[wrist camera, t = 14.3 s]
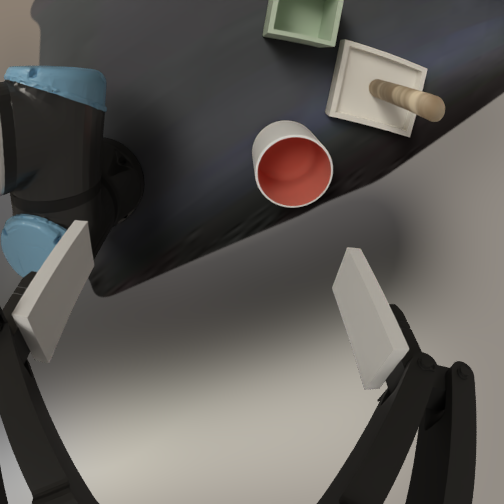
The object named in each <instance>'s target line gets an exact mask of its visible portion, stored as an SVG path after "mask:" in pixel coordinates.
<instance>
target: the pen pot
mask: <svg viewBox="0 0 504 504" xmlns="http://www.w3.org/2000/svg"><path fill="white" fill-rule="evenodd" d="M343 1H344V0H269V2H268V8H267V13H266V19H265V25H264V30H263V36H262V37H267V38H273V39H279V40H285V41H290V42H295V43H300V44H305V45H309V46H314V47H318V48H323V47H335V43H336V38H337V33H338V28H339V22H340V17H341V12H342V6H343Z"/></svg>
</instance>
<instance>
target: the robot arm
mask: <svg viewBox="0 0 504 504" xmlns="http://www.w3.org/2000/svg"><path fill="white" fill-rule="evenodd" d="M4 79H5V81H4V82H0V196H2V195H4V194H7V193H10V196H11V204H12V210H13V216H12V217H10V218H9V219H8V220H7V221H6V223H5V226H4V229H3V230H2V233H1V246H2V250H3V253H4V255H5V257H6V259H7V261H8V262H9V264H10V265H11V267H12V268H13V269H14V270H15V271H16V272H17V273H18V274H19V275H20V276H22V277H23V279H22V280H21V282H20V283H19V285H18V287H17V288H16V289H15V291H14V294H12V296H11V297H10V299H9V300H8V302H7V304H6V305H5V307H4V308H3V310H2V309H1V307H0V415H1V418H2V421H3V424H4V427H5V430H6V433H7V436H8V439H9V442H10V444H11V447H12V450H13V452H14V455H15V457H16V460H17V462H18V464H19V467H20V469H21V471H22V473H23V476H24V478H25V480H26V482H27V485H28V487H29V489H30V491H31V492H32V495H33V501H32V504H99V503H98V502H97V501H96V499H95V498H94V496H93V495H92V493H91V492H90V490H89V489H88V487H87V485H86V484H85V482H84V481H83V479H82V477H81V476H80V474H79V472H78V470H77V469H76V467H75V465H74V463H73V461H72V460H71V458H70V456H69V454H68V452H67V451H66V448H65V446H64V444H63V442H62V440H61V439H60V436H59V434H58V432H57V430H56V428H55V426H54V424H53V422H52V419H51V417H50V415H49V413H48V410H47V408H46V406H45V403H44V401H43V398H42V396H41V394H40V391H39V388H38V386H37V383H36V380H35V378H34V375H33V372H32V370H31V366H30V364H29V362H28V360H27V357H28V355H29V353H30V352H31V354H32V356H33V358H34V360H37V361H40V362H44V363H48V364H49V363H50V361H51V358H52V356H53V353H54V350H55V348H56V346H57V343H58V341H59V339H60V336H61V334H62V332H63V329H64V327H65V325H66V323H67V320H68V318H69V316H70V314H71V312H72V309H73V307H74V305H75V303H76V301H77V299H78V297H79V295H80V293H81V291H82V289H83V287H84V285H85V283H86V281H87V279H88V277H89V275H90V273H91V271H92V269H93V267H94V259H95V257H96V255H97V253H98V251H99V250H100V248H101V246H102V244H103V242H104V241H105V239H106V237H107V235H108V233H109V232H110V230H111V228H112V227H114V226H115V225H117V224H119V223H121V222H122V221H124V220H125V219H127V218H128V217H129V216H130V215H131V214H132V213H133V212H134V210H135V209H136V207H137V205H138V203H139V202H140V200H141V197H142V194H143V189H144V177H143V172H142V169H141V166H140V164H139V162H138V160H137V159H136V157H135V156H134V155H133V153H132V152H131V151H130V150H129V149H128V148H126V147H125V146H124V145H122V144H121V143H119V142H117V141H115V140H112V139H108V138H103V129H104V116H105V112H106V111H107V107H106V106H105V98H106V79H105V77H104V75H103V74H102V73H101V72H99V71H98V70H94V69H87V68H76V67H59V66H12V67H9V68H8V69H7V71H6V74H5V75H4ZM332 290H333V292H334V295H335V298H336V301H337V304H338V307H339V310H340V313H341V316H342V319H343V322H344V325H345V328H346V331H347V334H348V337H349V341H350V344H351V347H352V350H353V354H354V357H355V360H356V363H357V366H358V370H359V373H360V377H361V380H362V383H363V387H364V389H365V390H366V389H378V388H380V387H381V386H382V385H383V383H384V382H385V381H386V383H387V386H388V388H387V390H386V391H385V392H384V393H383V394H382V396H381V397H380V398H379V399H378V401H380V402H379V404H378V406H377V408H376V410H375V412H374V414H373V415H372V418H371V419H370V421H369V423H368V425H367V426H366V428H365V430H364V432H363V434H362V435H361V437H360V439H359V440H358V442H357V444H356V446H355V448H354V449H353V451H352V452H351V454H350V455H349V457H348V459H347V460H346V462H345V464H344V465H343V467H342V468H341V470H340V471H339V473H338V474H337V476H336V477H335V479H334V481H333V482H332V483H331V485H330V486H329V488H328V489H327V491H326V492H325V493H324V495H323V496H322V498H321V499H320V500H319V502H318V503H317V504H383V503H384V501H385V499H386V497H387V495H388V493H389V491H390V490H391V488H392V486H393V484H394V482H395V480H396V477H397V476H398V474H399V471H400V469H401V467H402V465H403V463H404V460H405V458H406V456H407V454H408V451H409V449H410V447H411V445H412V442H413V440H414V437H415V435H416V432H417V430H418V427H419V430H418V438H417V445H416V451H415V458H414V464H413V469H412V475H411V481H410V485H409V490H408V495H407V499H406V503H405V504H472V498H473V490H474V479H475V465H476V396H475V382H474V374H473V371H472V370H471V368H470V367H469V366H468V365H467V364H465V363H464V362H460V361H457V362H455V363H454V364H453V365H452V366H451V367H450V368H447V367H443V366H439V365H437V364H436V362H435V360H434V359H433V358H432V357H431V356H429V355H428V354H426V353H423V352H421V349H420V347H419V345H418V343H417V341H416V339H415V337H414V334H413V332H412V330H411V329H410V326H409V324H408V322H407V320H406V318H405V316H404V314H403V312H402V311H401V310H400V309H399V308H398V307H397V306H396V305H395V304H388V302H387V299H386V297H385V295H384V293H383V291H382V289H381V287H380V285H379V284H378V281H377V279H376V277H375V276H374V274H373V272H372V270H371V268H370V266H369V264H368V262H367V260H366V258H365V256H364V254H363V253H362V251H361V249H357V248H349V247H347V250H346V252H345V255H344V258H343V260H342V263H341V266H340V269H339V271H338V274H337V276H336V279H335V282H334V284H333V287H332ZM0 504H8V501H7V497H6V493H5V488H4V483H3V479H2V473H1V467H0Z"/></svg>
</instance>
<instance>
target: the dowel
mask: <svg viewBox="0 0 504 504" xmlns="http://www.w3.org/2000/svg"><path fill="white" fill-rule="evenodd" d="M369 92H370V94H371V95H372V96H374V97H376V98H378V99H381V100H384V101H386V102H389V103H391V104H393V105H396V106H398V107H401V108H403V109H405V110H408V111H410V112H412V113H414V114H417V115H419V116H421V117H423V118H425V119H427V120H430V121H432V122H437V121H439V120H441V119H442V117H443V116H444V113H445V105H444V102H443V101H442V99H441V98H439V97H438V96H435V95H432V94H429V93H426V92H422V91H419V90H416V89H413V88H409V87H406V86H402V85H399V84H395V83H391V82H387V81H383V80H379V79H375V80H373V81H371V83H370V84H369Z"/></svg>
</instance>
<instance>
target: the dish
mask: <svg viewBox="0 0 504 504" xmlns="http://www.w3.org/2000/svg"><path fill="white" fill-rule="evenodd" d="M426 73H427V69H426V68H424V67H422V66H419V65H417V64H415V63H412V62H410V61H407V60H405V59H402V58H400V57H397V56H394V55H392V54H389V53H386V52H383V51H380V50H377V49H375V48H372V47H369V46H365V45H362V44H359V43H356V42H353V41H349V40H346V39H345V40H340V44H339V49H338V54H337V59H336V64H335V69H334V74H333V79H332V83H331V88H330V93H329V97H328V102H327V106H326V111H325V113H326V114H327V115H328V116H331V117H336V118H340V119H344V120H348V121H353V122H357V123H361V124H364V125H368V126H372V127H376V128H379V129H383V130H386V131H390V132H393V133H397V134H400V135H403V136H407V137H410V135H411V131H412V128H413V124H414V121H415V117H416V114H414V113H412V112H410V111H408V110H405V109H403V108H401V107H398V106H396V105H393V104H391V103H389V102H386V101H384V100H381V99H378V98H376V97H374V96H372V95H371V94H370V92H369V84H370V83H371V81H373V80H375V79H379V80H383V81H387V82H391V83H395V84H399V85H402V86H406V87H409V88H413V89H416V90H419V91H422V90H423V86H424V82H425V78H426Z"/></svg>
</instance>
